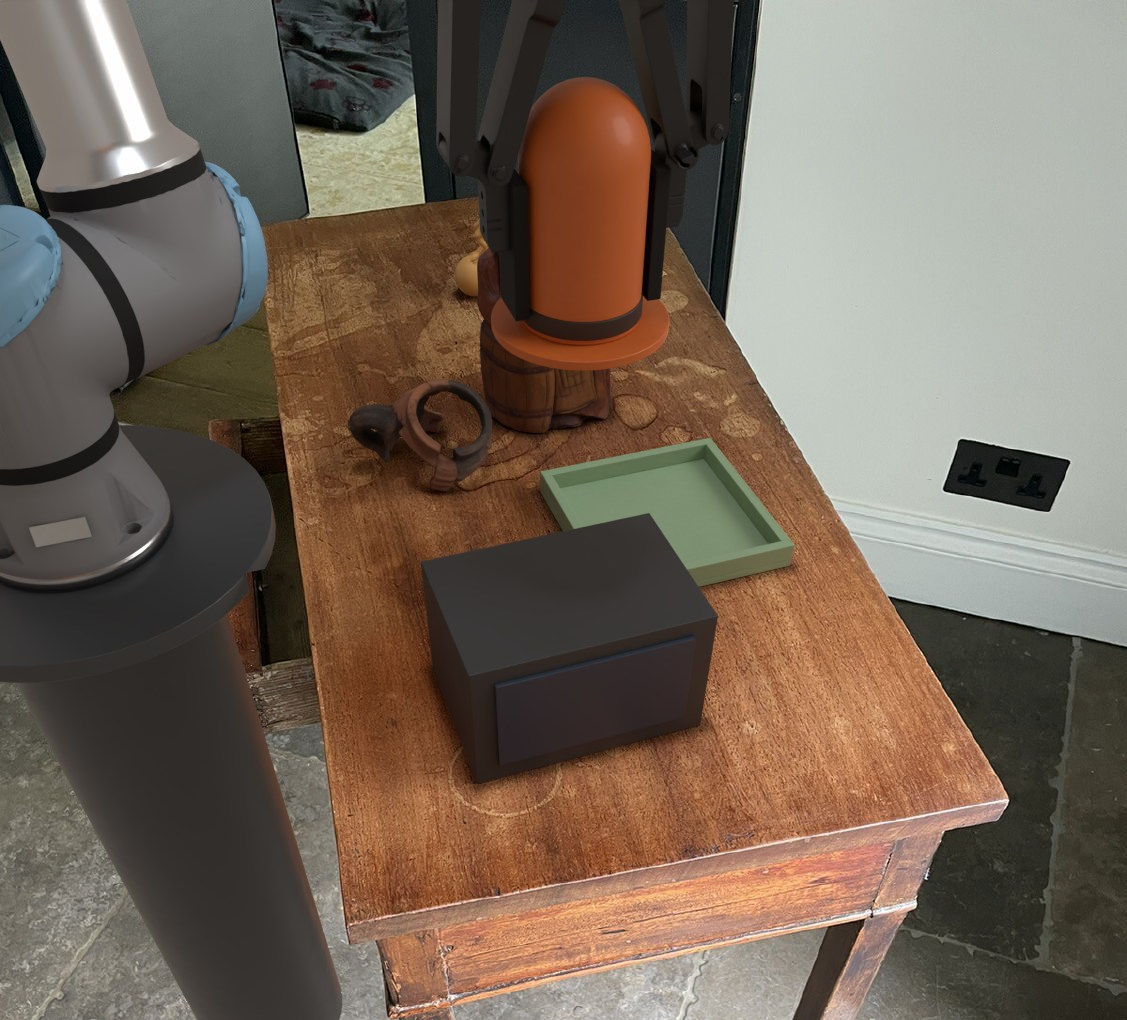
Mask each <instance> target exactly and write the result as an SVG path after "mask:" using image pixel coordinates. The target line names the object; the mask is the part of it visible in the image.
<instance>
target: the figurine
mask: <svg viewBox="0 0 1127 1020" xmlns="http://www.w3.org/2000/svg"><path fill="white" fill-rule="evenodd" d="M477 209H479V206H478V207H477ZM472 228H473V229H472V230H473V232H474V234H473V235H474V239H475V241H476V242H477V243H478V244H479V246H478V248H477V249H476V250H474V251H471V252H470V253H469V255H466V256H464V257H463V258H461V259H460V261H458V263H457V265H456V267H455V271H454V279H455V280H454V281H455V283H456V286H457V287H458V289H459V290H460V292H462V293H463V294H465V295H466V296H469V297H478V278H477V262H478V258H479V257H480V255H481V254H482V253H483V252H484V251H486V250H487V249H488V248H489V247H488V245H487V244H486V242H485V241H484V239H483V236H482V234H481V232H480V218H479V217H478V220H477V221H476V222H475V223H473V226H472Z"/></svg>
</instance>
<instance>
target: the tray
mask: <svg viewBox="0 0 1127 1020" xmlns="http://www.w3.org/2000/svg"><path fill="white" fill-rule="evenodd" d="M539 478H540V479H539V480H540V481H539V484H540V485H539V486H540V489H539V490H540V494H541V496H542V497H543V499H544V501H545V503H546V504H547V506H548V508H549V510H550V511H551V513H552V515H553V517H554V519H555V521H556V522H557V524H558V526H559V528H560V529H561V532H562V531H567V530H571V529H576V528H581V527H586V526H590V525H595V524H600V523H604V522H609V521H614V520H618V519H623V518H628V517H632V516H637V515H642V514H646V513H650V515H651V516H652V518H653V519H654V521H655V522H656V524H657V525H658V527H659V528H660V530H661V531H662V533H663V534H664V536H665V537H666V539H667V540H668V542H669V543H670V545H671V546H672V548H673V549H674V551H675V552H676V554H677V555H678V557H679V558H680V560H681V561H682V563H683V564H684V566H685V567H686V569H687V570H688V572H689V573H690V575H691V576H692V578H693V579H694V581H695V582H696V584H697V585H698V587H699V588H701V587H705V586H708V585H709V586H710V585H714V584H717V583H721V582H726V581H731V580H734V579H739V578H743V577H747V576H751V575H755V574H760V573H764V572H768V571H773V570H778V569H783V568H785V567H789V566H791V562H792V559H793V554H794V549H795V543H794V542H793V541H792V540H791V539H790V537H789V535H788V534H787V533H786V532H785V531H784V529H783V528H782V527H781V526H780V524H779V523H778V522H777V521H776V519H775V518H774V517H773V515H772V514H771V513H770V512H769V510H768V509H767V508H766V506H765V505H764V504H763V503H762V501H761V500H760V499H759V498H758V497H757V495H756V494H755V492H754V491H753V490H752V489H751V487H750V486H749V485H748V484H747V483H746V481H745V480H744V478H743V477H742V476H741V474H740V473H739V472H738V471H737V470H736V468H735V467H734V466H733V464H732V463H731V462H730V461H729V459H728V458H727V457H726V456H725V454H724V453H723V452H722V450H721V449H720V448H719V447H718V446H717V444H716V443H715V442H714V440H713V439H712V438H711V437H708V438H702V439H696V440H691V441H687V442H682V443H676V444H671V445H667V446H662V447H656V448H651V449H646V450H641V451H636V452H631V453H626V454H622V455H621V454H620V455H615V456H611V457H606V458H601V459H596V460H592V461H586V462H580V463H575V464H571V465H566V466H561V467H556V468H550V469H545V470H541V471H540V474H539Z"/></svg>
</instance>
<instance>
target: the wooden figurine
mask: <svg viewBox="0 0 1127 1020" xmlns="http://www.w3.org/2000/svg"><path fill="white" fill-rule="evenodd" d="M477 278H478V296H476V303H477V308H478V311H479V313H480V316H481V317H482V318H483V320H482V321H481V322H480V328H479V359H480V371H481V372H480V373H481V379H482V386H483V394H484V399H485V403H486V405H487V406H488V408H489V411H490V413H491V418H493V419H495V420H497V422H499V423H500V424H501V425H503V426H505V427H509V428H511V429H513V430H515V431H519V432H523V433H531V434H543V433H546V432H547V431H548V430H550V429H559V430H562V429H563V430H564V429H566V428H574V427H575V428H576V427H580V426H581V425H582V424H583V422H584V420H586V419H601V420H605V419H607V418H608V416H609V413H610V404H611V368H610V369H602V370H589V371H576V370H563V369H556V368H550V367H546V366H541V365H538V364H535V363H531V362H528V361H526V360H524V359H521V358H519V357H517V356H515V355H514V354H512V353H510V352H509V351H508V350H506V349H505V348H504V347H503V346H502V345H501V344H500V343H499V342H498V341H497V339H496V338H495V336H494V334H493V332H492V326H491V314H492V311H493V308H494V306H495V304H496V303H497V301H498V300H499V299H500V298H501V282H500V252H493V253H492V252H491V250H490V249H489V247H488V249H487V250H486V251H484V252H483V253H482V254H481V255H480V257H479V258H478V262H477Z"/></svg>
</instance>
